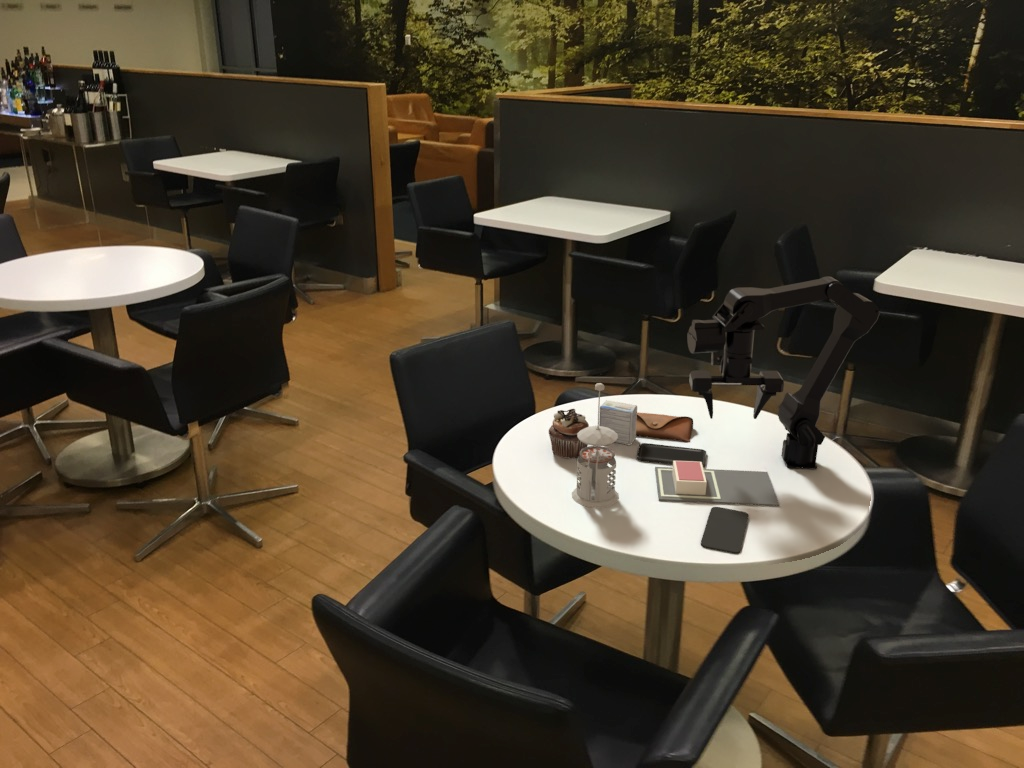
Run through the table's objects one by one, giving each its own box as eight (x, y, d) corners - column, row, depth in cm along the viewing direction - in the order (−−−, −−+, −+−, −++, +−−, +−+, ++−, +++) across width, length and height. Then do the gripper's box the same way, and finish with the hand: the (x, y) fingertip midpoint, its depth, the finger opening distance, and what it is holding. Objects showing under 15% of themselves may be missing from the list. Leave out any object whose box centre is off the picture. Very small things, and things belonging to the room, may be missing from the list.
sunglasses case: (615, 435, 200) (617, 407, 201) (617, 438, 207) (619, 411, 208) (692, 442, 197) (694, 414, 198) (691, 445, 204) (694, 417, 204)
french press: (621, 486, 178) (627, 376, 168) (615, 514, 167) (621, 398, 158) (575, 481, 180) (578, 372, 170) (566, 509, 169) (569, 394, 160)
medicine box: (636, 438, 199) (638, 404, 196) (630, 446, 195) (632, 412, 192) (604, 432, 202) (605, 399, 199) (598, 440, 198) (599, 406, 195)
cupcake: (599, 452, 192) (600, 412, 188) (565, 464, 187) (566, 423, 183) (572, 437, 200) (573, 398, 196) (539, 448, 194) (540, 408, 191)
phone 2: (640, 442, 195) (706, 449, 192) (639, 446, 196) (706, 454, 192) (636, 457, 188) (704, 465, 185) (635, 462, 189) (704, 470, 185)
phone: (699, 545, 156) (711, 505, 169) (699, 548, 157) (711, 509, 170) (740, 553, 154) (749, 512, 167) (739, 557, 154) (749, 516, 167)
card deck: (705, 495, 174) (706, 481, 172) (675, 493, 174) (676, 480, 173) (700, 474, 182) (701, 461, 181) (672, 472, 182) (673, 459, 181)
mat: (767, 473, 183) (767, 471, 183) (779, 506, 170) (779, 504, 170) (654, 468, 185) (655, 466, 185) (658, 500, 172) (658, 498, 172)
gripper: (776, 336, 182) (769, 403, 188) (688, 336, 184) (684, 402, 190) (787, 355, 172) (780, 424, 178) (694, 354, 174) (690, 423, 180)
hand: (732, 417), depth 182 cm, fingers open, 9 cm apart
